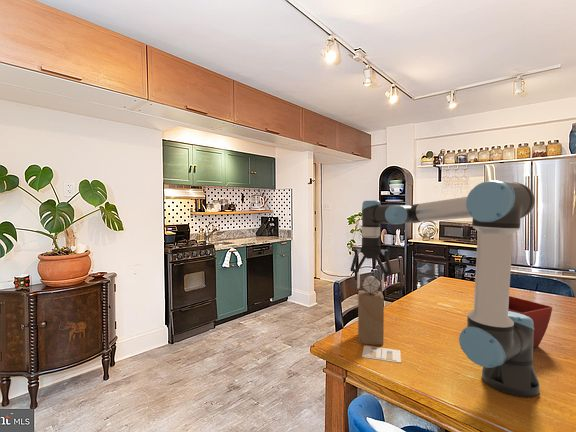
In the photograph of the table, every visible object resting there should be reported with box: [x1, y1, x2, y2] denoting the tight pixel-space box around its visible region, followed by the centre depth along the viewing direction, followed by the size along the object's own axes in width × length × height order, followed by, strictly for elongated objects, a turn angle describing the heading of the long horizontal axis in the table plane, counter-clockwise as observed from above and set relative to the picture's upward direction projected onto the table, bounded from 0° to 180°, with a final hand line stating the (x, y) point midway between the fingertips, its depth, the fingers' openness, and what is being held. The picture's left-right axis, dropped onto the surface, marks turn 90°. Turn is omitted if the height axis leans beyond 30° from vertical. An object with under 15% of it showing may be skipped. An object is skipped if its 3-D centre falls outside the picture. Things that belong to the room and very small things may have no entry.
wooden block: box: [357, 290, 385, 346], centre depth 134 cm, size 10×10×20 cm
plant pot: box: [508, 295, 553, 348], centre depth 131 cm, size 19×19×17 cm
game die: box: [360, 274, 382, 295], centre depth 133 cm, size 9×8×10 cm
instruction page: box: [361, 345, 402, 364], centre depth 121 cm, size 10×14×1 cm
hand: (370, 288), depth 134 cm, fingers open, 9 cm apart
